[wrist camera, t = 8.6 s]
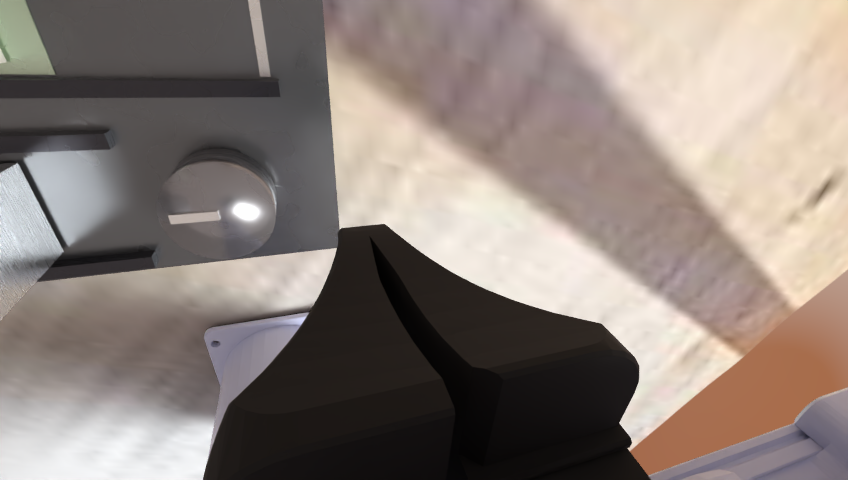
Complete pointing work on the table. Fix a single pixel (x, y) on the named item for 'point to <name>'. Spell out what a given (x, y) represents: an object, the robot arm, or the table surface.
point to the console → (160, 136)
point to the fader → (2, 57)
